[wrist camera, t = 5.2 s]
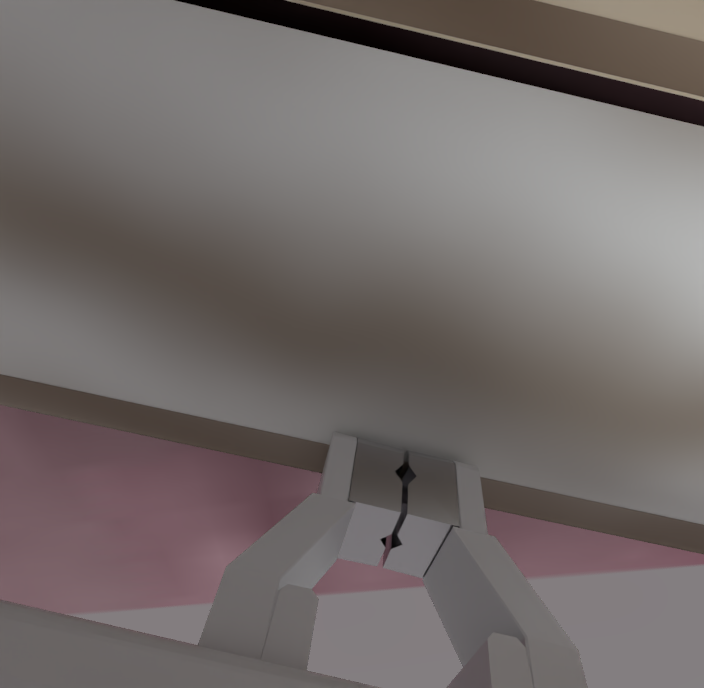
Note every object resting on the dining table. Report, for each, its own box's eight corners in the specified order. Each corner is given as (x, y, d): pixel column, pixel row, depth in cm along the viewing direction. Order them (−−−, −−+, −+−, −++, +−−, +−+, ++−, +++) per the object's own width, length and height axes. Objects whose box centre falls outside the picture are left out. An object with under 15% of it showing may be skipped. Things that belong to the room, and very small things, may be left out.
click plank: (-126, -62, 8) (-267, -105, 7) (1052, 218, 9) (1216, 249, 7) (-45, 336, 12) (-122, 379, 10) (787, 516, 13) (852, 585, 11)
